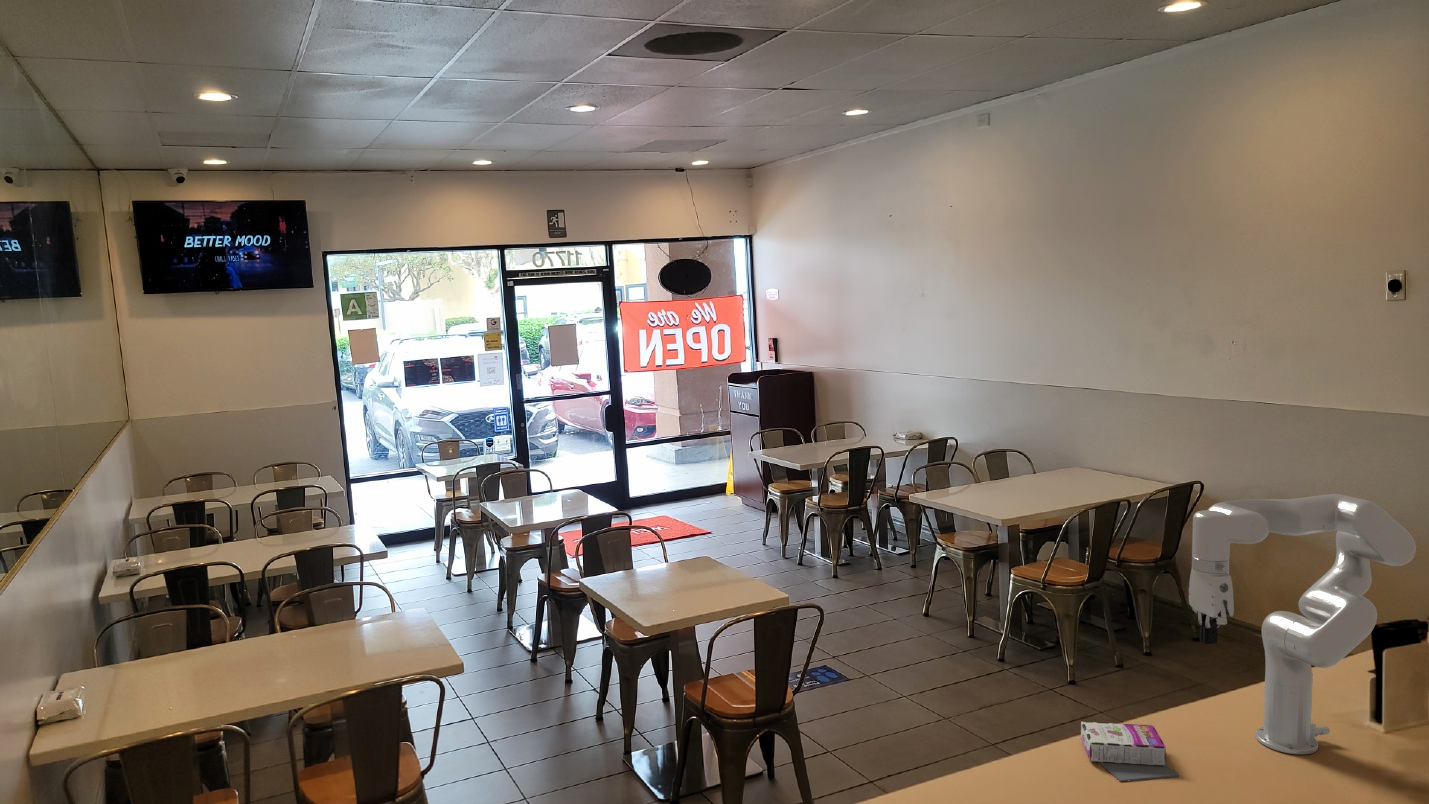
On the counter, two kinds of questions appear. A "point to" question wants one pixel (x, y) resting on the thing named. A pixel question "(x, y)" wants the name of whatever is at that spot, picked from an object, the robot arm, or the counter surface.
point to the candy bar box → (1123, 743)
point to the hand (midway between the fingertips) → (1208, 642)
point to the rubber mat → (1138, 771)
